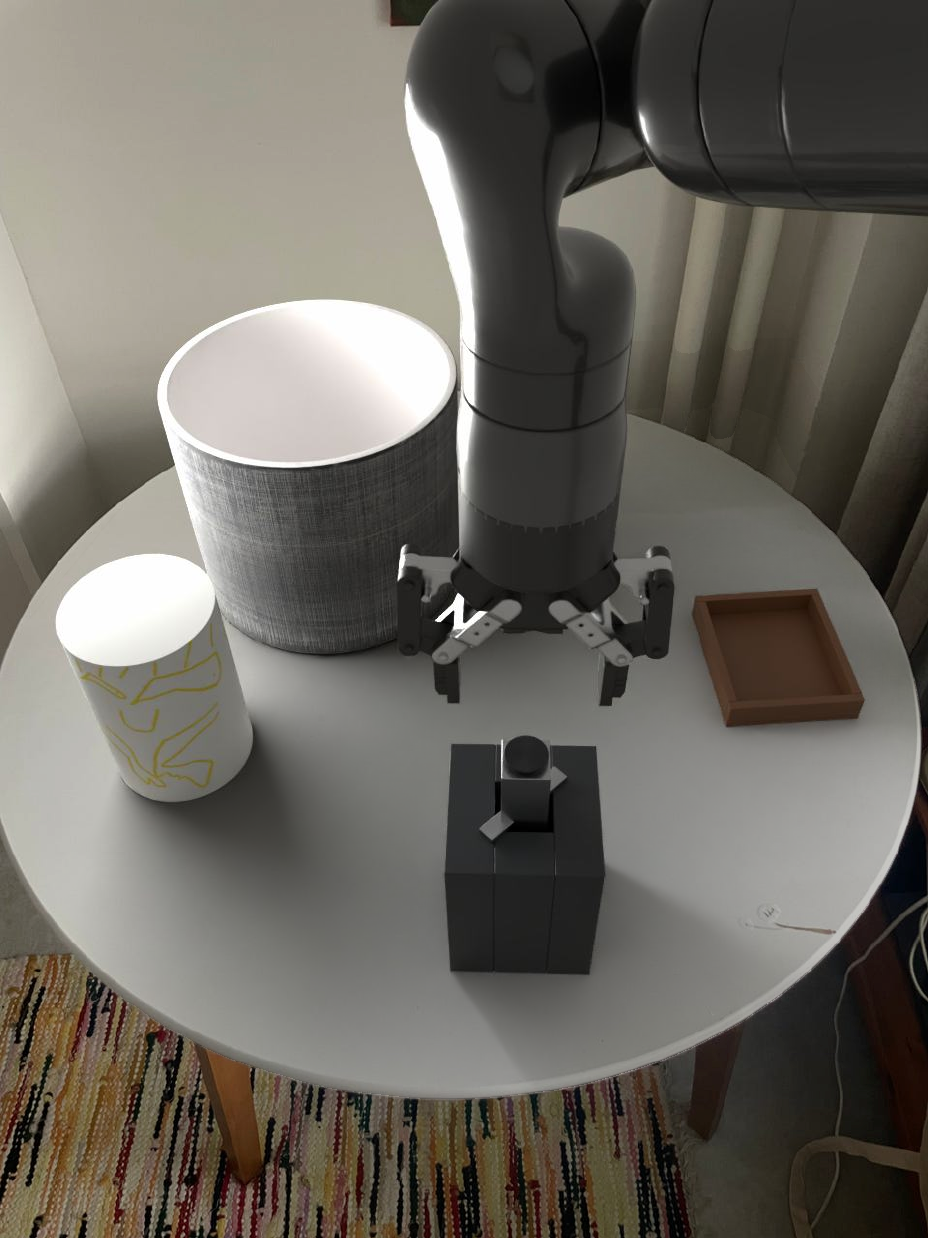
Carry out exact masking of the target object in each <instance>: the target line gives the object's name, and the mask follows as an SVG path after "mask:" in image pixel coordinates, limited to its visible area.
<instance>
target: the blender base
mask: <svg viewBox="0 0 928 1238" xmlns="http://www.w3.org/2000/svg"><path fill="white" fill-rule="evenodd" d="M597 749H598V748H597V746H596V745H573V744H572V745H570V744H569V745H568V744H567V745H565V744H560V745H559V744H552V745H551V744H550V765H551V769H552V768H553V767H554V766H555V767H556V768H557V769H559V770H560V771H561V772H562V773H563V774H565V775H566V776H567V781H566V782H565V783H563V784H562V785H561V786H560V787H559V788H558V789H556V790H555V791H554V792H553V793H552V794H550V799H549V812H548V825H547V832H506V833H504V834H503V835H502V836H501V837H500V838H499V839H497V840H496V841H495V842H494V843H493V844H491V843H490V842H489V841H488V840H487V839H486V838H485V837H484V836H483V835H481V834H480V833H479V828H481V827H482V826H483V825H484V824H485V823H487V822H488V821H489V820H490V819H491V818H493V817H494V816H495V815H496V814H497V813H499V812H500V811H501V759H502V743H500V744H499V743H498V744H497V743H496V744H495V743H450V748H449V750H450V751H449V770H448V789H447V807H446V808H447V809H446V825H445V827H446V828H445V845H444V846H445V847H444V866H443V868H444V869H443V870H444V871H443V879H444V892H445V893H444V894H445V909H446V921H447V922H446V923H447V924H446V925H447V940H448V955H449V970H450V972H452V973H490V974H491V973H500V974H501V973H502V974H503V973H506V974H548V975H582V976H583V975H586V976H587V975H588V976H589V975H590V974H591V968H592V962H593V955H594V949H595V943H596V936H597V931H598V926H599V925H598V924H599V917H600V911H601V906H602V900H603V899H602V898H603V893H604V887H605V881H606V865H605V864H606V863H605V852H604V851H605V849H604V838H603V837H604V836H603V823H602V822H603V821H602V808H601V793H600V779H599V765H598V750H597Z"/></svg>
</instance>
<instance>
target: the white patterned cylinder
mask: <svg viewBox="0 0 928 1238" xmlns="http://www.w3.org/2000/svg"><path fill="white" fill-rule="evenodd" d="M55 630H56V634H57V638H58V639H59V641H60V643H61V647H62V648H63V651H64V653H65V654H66V657H67V659H68V661H69V664H70V666H71V669H72V670H73V672H74V675H75V678H76V679H77V681H78V684H79V686H80V688H81V690H82V692H83V695H84V697H85V699H86V702H87V703H88V706H89V708H90V710H91V713H92V715H93V717H94V719H95V721H96V725H97V726H98V728H99V730H100V733H101V734H102V735H101V736H102V737H103V739H104V741H105V743H106V747H107V748H108V750H109V753H110V755H111V757H112V759H113V762H114V763H115V765H116V768H117V770H118V772H119V774H120V777H121V778H122V780H123V781H124V783H125V784H126V785H127V786H128V788H130V789H131V790H132V791H134V792H135V793H137V794H138V795H140V796H142V797H144V798H146V799H150V800H153V801H156V802H164V803H180V802H187V801H192V800H195V799H199V798H202V797H204V796H207V795H210V794H212V793H214V792H215V791H217V790H219V789H221V788H222V787H224V786H225V785H226V784H228V783H229V782H230V781H231V780H232V779H234V778H235V777H236V776H237V774H239V772H240V771H241V770H242V769H243V767H244V766H245V764H246V762H247V761H248V759H249V756H250V754H251V752H252V749H253V743H254V731H253V725H252V721H251V718H250V715H249V711H248V708H247V703H246V701H245V696H244V692H243V689H242V685H241V682H240V678H239V674H238V671H237V668H236V663H235V660H234V656H233V652H232V649H231V645H230V641H229V638H228V634H227V630H226V627H225V624H224V619H223V616H222V612H221V611H220V608H219V605H218V601H217V598H216V594H215V590H214V587H213V584H212V582H211V580H210V578H209V577H208V575H207V572H206V571H204V570H203V569H202V568H201V567H200V566H199V565H197V564H195V563H194V562H192V561H190V560H189V559H186V558H182V557H179V556H175V555H170V554H163V553H143V554H135V555H130V556H125V557H122V558H118V559H116V560H112V561H110V562H108V563H105V564H103V565H101V566H99V567H97V568H95V569H93V570H92V571H90V572H89V573H87V574H86V575H84V576H83V577H82V578H80V579H79V580H78V581H77V582H76V583H74V584H73V586H72V587H71V588H70V589H69V590H68V591H67V592H66V594H65V595H64V597H63V598H62V599H61V602H60V604H59V606H58V608H57V611H56V616H55Z"/></svg>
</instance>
